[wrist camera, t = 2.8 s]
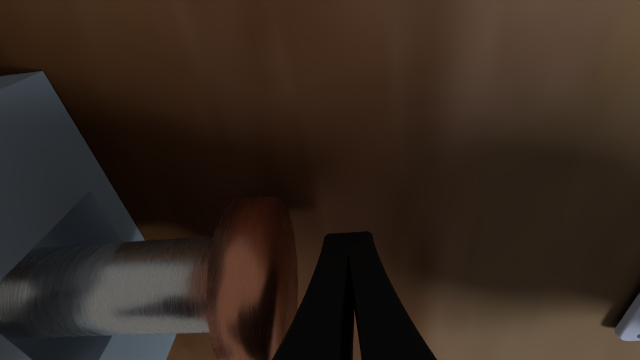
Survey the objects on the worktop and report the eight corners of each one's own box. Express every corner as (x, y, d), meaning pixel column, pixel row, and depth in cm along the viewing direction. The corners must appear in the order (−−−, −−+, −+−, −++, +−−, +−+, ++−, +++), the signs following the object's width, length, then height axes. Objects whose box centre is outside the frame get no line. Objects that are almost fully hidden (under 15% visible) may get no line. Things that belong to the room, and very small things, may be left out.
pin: (277, 163, 11) (240, 302, 7) (302, 267, 14) (287, 408, 9) (-7, 188, 12) (-189, 319, 8) (71, 279, 15) (-30, 409, 11)
